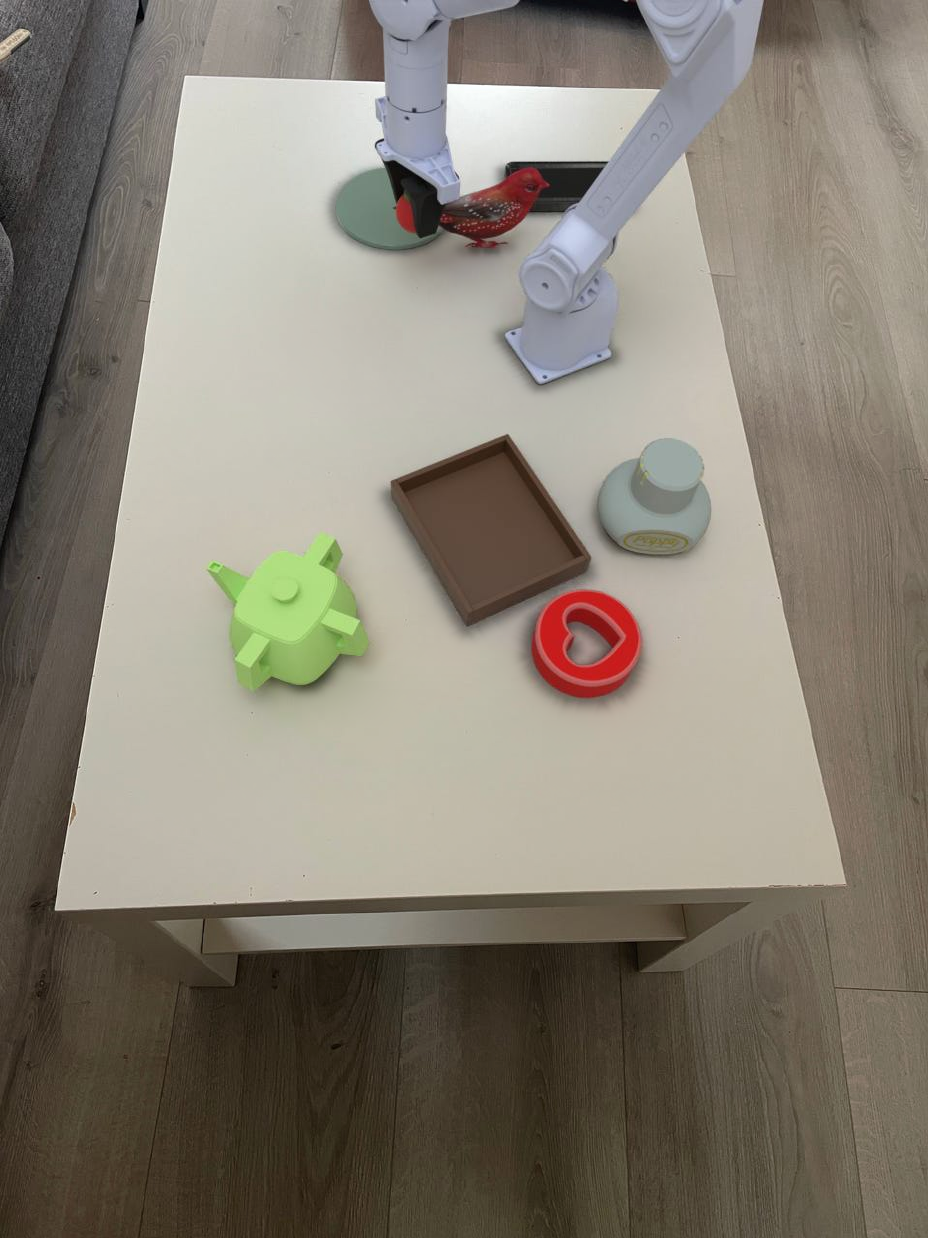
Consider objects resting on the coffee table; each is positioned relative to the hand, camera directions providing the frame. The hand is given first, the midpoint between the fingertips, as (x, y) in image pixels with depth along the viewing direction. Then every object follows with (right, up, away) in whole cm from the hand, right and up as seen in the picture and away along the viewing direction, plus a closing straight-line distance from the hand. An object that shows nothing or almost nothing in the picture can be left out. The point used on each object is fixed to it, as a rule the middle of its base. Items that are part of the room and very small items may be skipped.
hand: (416, 220), depth 91 cm
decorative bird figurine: (+6, +4, +6) cm, 9 cm away
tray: (+7, -34, -7) cm, 36 cm away
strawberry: (0, 0, -1) cm, 1 cm away
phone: (+18, +11, +16) cm, 26 cm away
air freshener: (+23, -33, -5) cm, 41 cm away
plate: (-4, +7, +13) cm, 15 cm away
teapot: (-10, -44, -13) cm, 47 cm away
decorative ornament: (+16, -45, -12) cm, 50 cm away
